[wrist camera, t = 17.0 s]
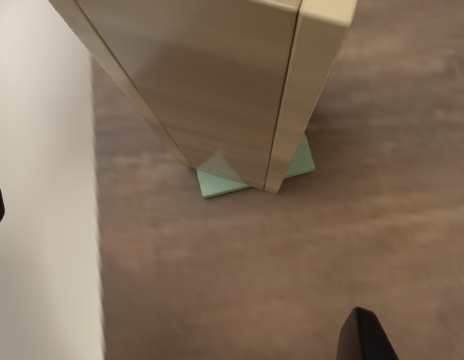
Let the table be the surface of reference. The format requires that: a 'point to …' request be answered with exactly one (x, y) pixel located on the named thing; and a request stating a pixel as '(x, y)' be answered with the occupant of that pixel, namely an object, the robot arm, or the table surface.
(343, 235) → the table surface
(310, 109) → the square pencil holder
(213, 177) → the coat peg
